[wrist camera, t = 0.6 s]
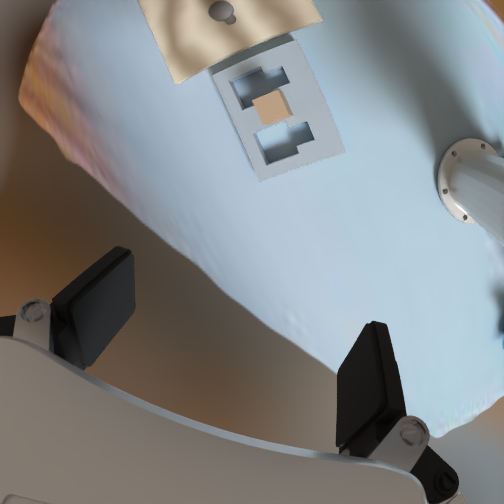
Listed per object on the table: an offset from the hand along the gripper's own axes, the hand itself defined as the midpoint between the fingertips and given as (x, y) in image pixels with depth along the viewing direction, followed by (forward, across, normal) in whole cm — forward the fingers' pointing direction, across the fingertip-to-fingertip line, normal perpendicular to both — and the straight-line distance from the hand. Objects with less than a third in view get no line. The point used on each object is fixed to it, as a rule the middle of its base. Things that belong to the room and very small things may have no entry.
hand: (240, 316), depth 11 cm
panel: (+31, +4, -8) cm, 32 cm away
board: (+31, +15, -23) cm, 41 cm away
